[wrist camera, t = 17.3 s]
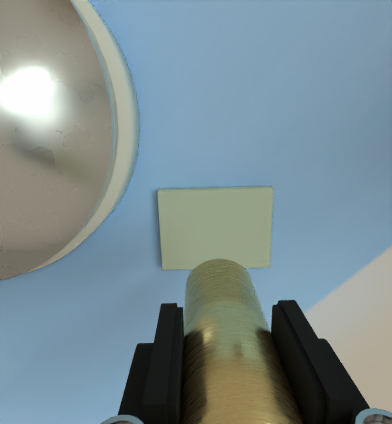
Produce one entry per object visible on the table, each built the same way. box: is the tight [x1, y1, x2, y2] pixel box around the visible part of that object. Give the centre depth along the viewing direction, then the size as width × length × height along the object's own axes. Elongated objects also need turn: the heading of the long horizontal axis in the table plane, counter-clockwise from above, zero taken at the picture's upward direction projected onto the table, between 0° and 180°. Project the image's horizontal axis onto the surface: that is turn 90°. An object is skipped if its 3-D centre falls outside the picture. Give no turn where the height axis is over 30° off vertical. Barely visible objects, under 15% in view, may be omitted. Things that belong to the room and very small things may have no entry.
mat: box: [157, 186, 274, 270], centre depth 21 cm, size 8×6×1 cm
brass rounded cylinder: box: [180, 259, 304, 424], centre depth 10 cm, size 3×3×9 cm
